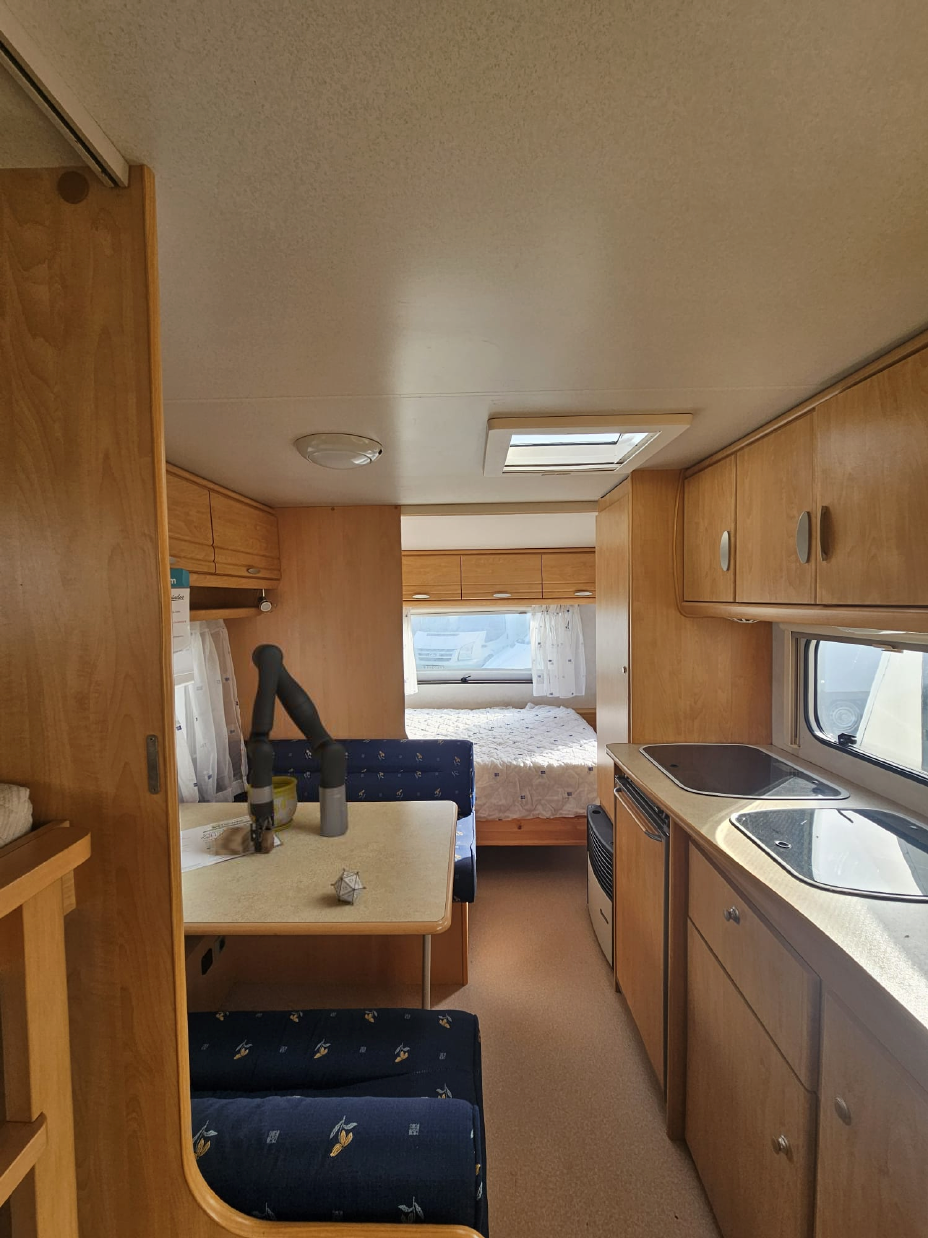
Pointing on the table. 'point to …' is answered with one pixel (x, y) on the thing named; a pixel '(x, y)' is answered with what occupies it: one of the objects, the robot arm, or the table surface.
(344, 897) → the game die
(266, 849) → the walnut block
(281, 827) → the flowerpot
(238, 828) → the oak box
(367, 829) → the table surface
